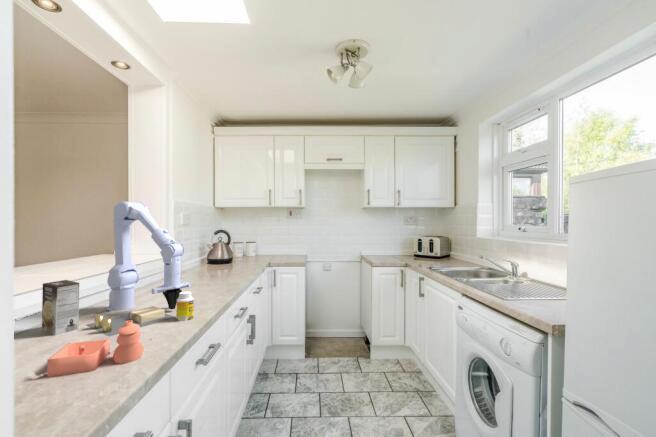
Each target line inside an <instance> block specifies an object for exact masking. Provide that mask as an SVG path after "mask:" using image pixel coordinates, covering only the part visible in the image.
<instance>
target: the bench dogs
mask: <svg viewBox="0 0 656 437" xmlns="http://www.w3.org/2000/svg"><path fill="white" fill-rule="evenodd" d="M112 318H113V317H105V316H104V314H96V315H94V322H93V323H94V329H93V330H95V329H101V328H102V333H101V334H103V333H108V332H111V331H112Z"/></svg>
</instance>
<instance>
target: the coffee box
mask: <svg viewBox="0 0 656 437" xmlns="http://www.w3.org/2000/svg"><path fill="white" fill-rule="evenodd" d="M41 299H42V300H41V301H42V302H41V303H42V304H41V306H42V308H41V309H42V310H41V312H42V313H41V314H42V315H41V331H42V332H45V333H47V334H50V335H52V336H59V335H62V334H66V333H69V332H73V331H76V330H79V325H80V324H79V322H80V320H79V318H80V317H79V316H80V315H79V314H80V311H79V310H80V282H78V281H73V280H68V279H64V280H57V281H50V282H44V283H42V298H41Z"/></svg>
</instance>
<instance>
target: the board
mask: <svg viewBox="0 0 656 437" xmlns="http://www.w3.org/2000/svg"><path fill="white" fill-rule="evenodd" d="M111 318H112V331H111V332H108V333H102V328H101V329H94V322H92V323H86V326H87V327H89V328H91V329H93V330H95V331H98V332H99V333H101V334H103V335H106V336H107V337H112V336H116V335H120V334H119V333H118V329H119V328H120V327H122V326H124V325H125V322H126V321H130V320H132V319H130V313H128V314H125V315H119V316H117V317H111ZM175 318H176V316H174V315H171V314H168V313H165V317H162V318H158V319H155V320H151V321H147V322H144V323H140V322H137V321H134V320H132V321H133V324H137V325H139V326H140V329H141V328H143V327H147V326H150V325H154V324H158V323H162V322H165V321H168V320H172V319H175Z"/></svg>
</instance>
